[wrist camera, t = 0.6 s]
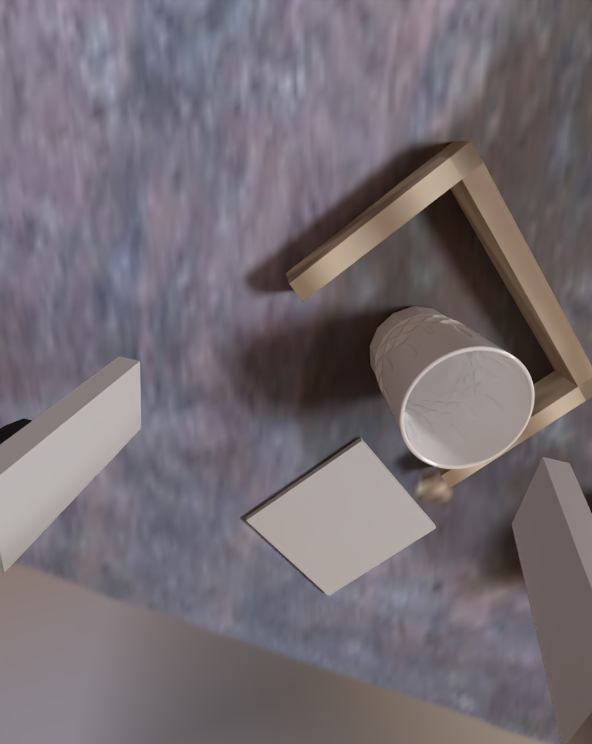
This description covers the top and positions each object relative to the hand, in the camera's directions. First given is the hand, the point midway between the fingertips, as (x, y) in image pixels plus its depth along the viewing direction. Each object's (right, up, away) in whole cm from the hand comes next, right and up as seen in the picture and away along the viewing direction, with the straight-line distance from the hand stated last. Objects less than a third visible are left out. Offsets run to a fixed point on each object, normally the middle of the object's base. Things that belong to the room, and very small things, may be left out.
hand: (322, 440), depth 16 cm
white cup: (+8, +4, +21) cm, 23 cm away
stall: (+10, +6, +20) cm, 23 cm away
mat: (+3, -11, +27) cm, 29 cm away
